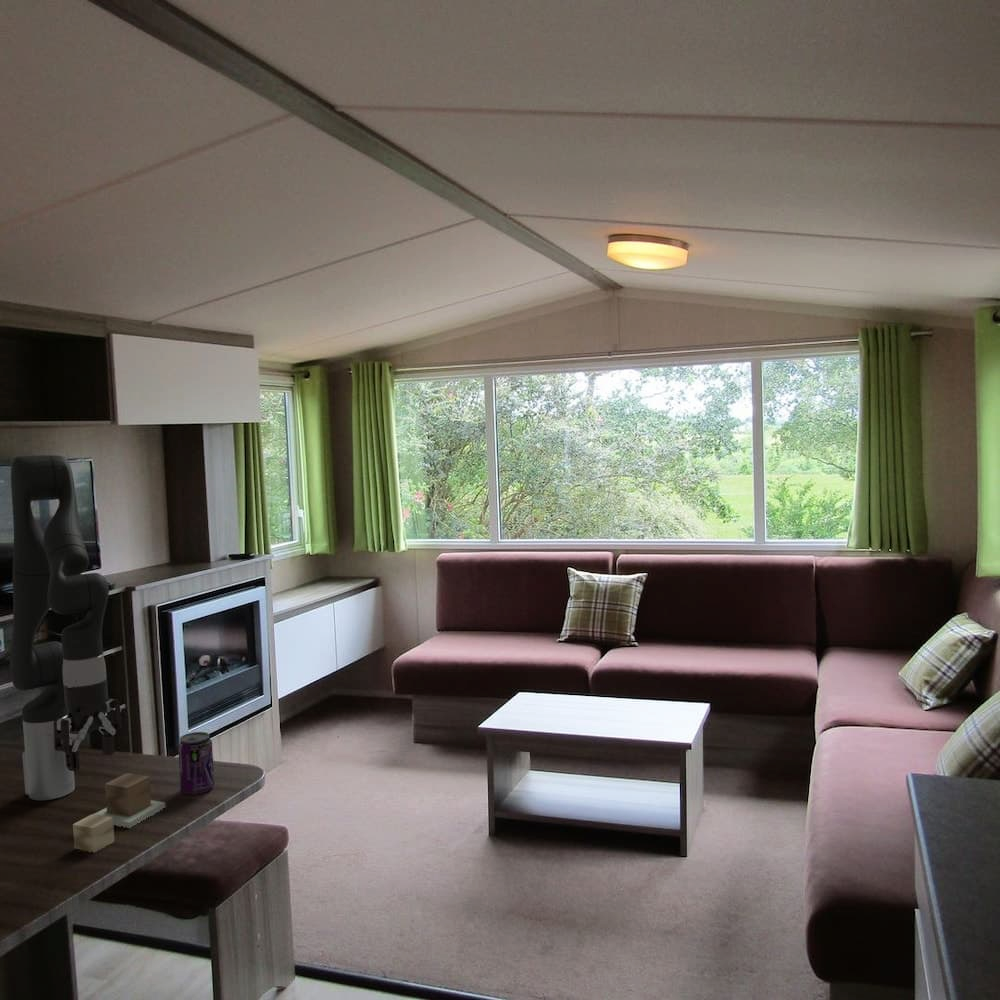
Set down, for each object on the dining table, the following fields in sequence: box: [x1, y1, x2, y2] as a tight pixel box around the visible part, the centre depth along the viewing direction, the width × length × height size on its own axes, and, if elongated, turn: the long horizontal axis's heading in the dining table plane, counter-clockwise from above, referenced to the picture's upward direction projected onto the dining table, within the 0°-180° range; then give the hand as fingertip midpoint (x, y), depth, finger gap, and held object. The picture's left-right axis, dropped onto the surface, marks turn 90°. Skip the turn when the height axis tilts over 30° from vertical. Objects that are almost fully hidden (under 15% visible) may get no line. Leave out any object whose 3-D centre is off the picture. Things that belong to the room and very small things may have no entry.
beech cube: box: [72, 813, 115, 854], centre depth 181 cm, size 5×5×5 cm
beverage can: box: [177, 731, 216, 795], centre depth 206 cm, size 7×7×12 cm
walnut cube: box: [104, 772, 152, 816], centre depth 195 cm, size 6×6×6 cm
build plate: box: [94, 799, 166, 829], centre depth 195 cm, size 10×10×1 cm
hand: (91, 762), depth 180 cm, fingers open, 8 cm apart
